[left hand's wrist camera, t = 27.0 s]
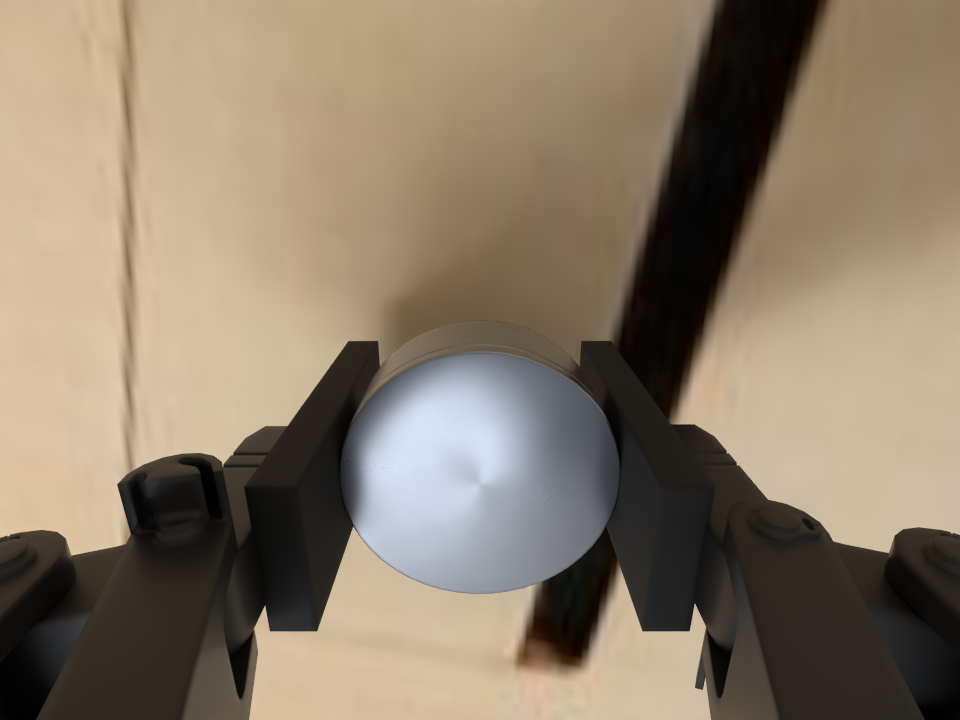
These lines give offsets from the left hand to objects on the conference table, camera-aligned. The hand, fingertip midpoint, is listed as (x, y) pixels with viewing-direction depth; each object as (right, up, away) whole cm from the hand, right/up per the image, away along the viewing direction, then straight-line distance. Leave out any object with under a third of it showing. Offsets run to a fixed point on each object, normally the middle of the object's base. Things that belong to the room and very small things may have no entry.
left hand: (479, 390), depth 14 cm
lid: (0, -1, -4) cm, 4 cm away
